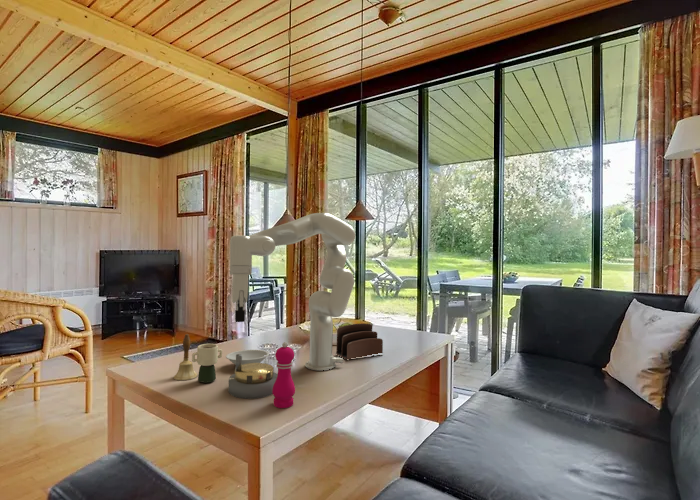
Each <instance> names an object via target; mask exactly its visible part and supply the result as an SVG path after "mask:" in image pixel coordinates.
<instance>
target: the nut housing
mask: <svg viewBox="0 0 700 500" xmlns="http://www.w3.org/2000/svg"><path fill="white" fill-rule="evenodd" d="M277 375H278V373H277V372H274V371H273V378H272V379H271V380H269V381H267V382H263V383H257V384H245V383H240V382H238V381H236V380H235V373H233V374H231V376H229V378H228V394H229V395H231V396H232V397H234V398H239V399H248V400H250V399H252V400H254V399H261V398H265V397H269V396H271V395H273V393H272V390H273V386H274V383H275V381H276V379H277Z"/></svg>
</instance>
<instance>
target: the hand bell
mask: <svg viewBox="0 0 700 500" xmlns="http://www.w3.org/2000/svg"><path fill="white" fill-rule="evenodd" d="M182 340H183V341H182V348H183V360H182V361H180V363H179V367H178V369H177V372H176V373H175V375H173V379H174V380H176V381H189V380H190V381H191V380H193V379H195V378H198V373H197V372H196V371H195V369H194V367H193V362H192V360H191V361H190V360H189V355H190V353H189V351H190V347H191V338H190V335H189V334H188V333H186V334H184V338H183V339H182Z"/></svg>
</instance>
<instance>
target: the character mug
mask: <svg viewBox="0 0 700 500" xmlns="http://www.w3.org/2000/svg"><path fill="white" fill-rule="evenodd" d="M196 351H197V352H193V353H192V355H191V362H192V363H195V362H196V363H197V365H199V370H198V373H197V375H198V376H197V381H198V382H199V383H200V382H201V383H213V382H214V381H216V380H217V376H216V375H217V373H216V367H215V365H216V364H217V362H218V361H219V360H218V359H221V358H222V357H223V349H222V348H219V345H218V344H216V343H203V344H200V345H198V346H197V347H196Z"/></svg>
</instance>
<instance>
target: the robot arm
mask: <svg viewBox="0 0 700 500" xmlns="http://www.w3.org/2000/svg"><path fill="white" fill-rule="evenodd" d="M315 235H321V240H322V241H323V243H324V245H325V247H326V258H325V262H324V264H323V267H322V270H321V273H320V275H319V283H320V286H321V287H322V288H324V289H328V290H331V291H326V290H317V291H315V292H313V293H312V294H311V295H310V296H309V298H308V299H309V300H308V310H309V311H308V312H309V321H310V323H309V327H310V328H309V357H308V358H309V359H308V360H307V361H306V362H305V365H304V366H305V367H306V369H308V370H312V371H317V372H319V371H320V372H321V371H323V370H324V371H330V370H332V368H333V369H335V368H336V363H340V364H341V363H344V359H343V358H341V357H339V356H334V355H333V338H334V337H333V333H334V321H333V318H340V317H341V316H343V314H344V313H345V312H346V309H347V306H348V304H349V301H350V297H351V295H352V290H353V288H354V283H355V278H354V274H353V273H352V271H351V270H350V269H348V268H345V265H346V262H347V251H346V249H345V246H349V245H351V244H352V243H353V242H354V241H355V239H356V232H355V229H354V228H353V226H351V225H350V224H349V223H347V222H345V221H344V220H341V219H340V218H338V217H337V216H334V215H333V214H331V213H328V212H316V213H310V214H307V215H305V216H302V217H300V218H297V219H294V220H291V221H287V222H285V223H282V224H280V225H277V226H273V227H270V228H267V229H264V230H260V231H258V232H256V233H252V234H251V235H233V236H231V237H230V241H229V245H230V246H229V275H230V276H231V275H232V279H231V282H232V283H231V302H232V303H233V304H235V312H234V322H235V323H244V322H245V320H246V318H245V317H246V310H245V308H246V305H245V304H246V303H247V302H248V296H249V295H248V294H249V293H248V292H249V275H252V267H253V265H252V264H253V256H256V257H257V256H259V257H266V256H269V255H272V254H273V252H274V251H275V249H276V247H279V246H287V245H289V246H290V245H294V244H297V243H299V242H302V241H304V240H305V239H309V238H310V237H313V236H315ZM334 367H335V368H334ZM329 369H330V370H329Z"/></svg>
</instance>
